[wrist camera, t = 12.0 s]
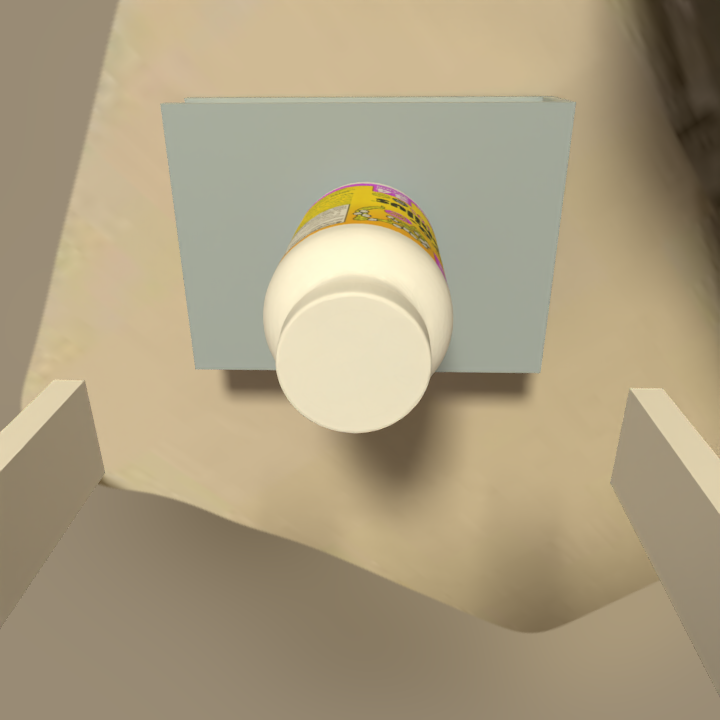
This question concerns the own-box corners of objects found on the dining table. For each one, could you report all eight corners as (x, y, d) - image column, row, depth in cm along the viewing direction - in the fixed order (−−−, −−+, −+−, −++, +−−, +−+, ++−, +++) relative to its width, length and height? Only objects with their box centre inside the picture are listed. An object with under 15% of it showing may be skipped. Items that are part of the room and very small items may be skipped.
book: (552, 96, 31) (576, 102, 27) (524, 339, 37) (540, 373, 33) (188, 97, 32) (160, 103, 28) (215, 336, 37) (195, 369, 34)
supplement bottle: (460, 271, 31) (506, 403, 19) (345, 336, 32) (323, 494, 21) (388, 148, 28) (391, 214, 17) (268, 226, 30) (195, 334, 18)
